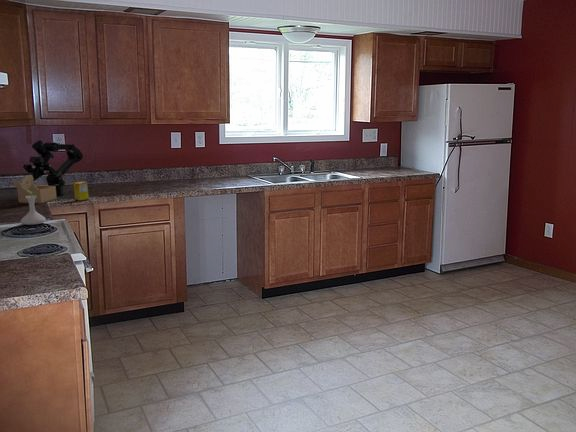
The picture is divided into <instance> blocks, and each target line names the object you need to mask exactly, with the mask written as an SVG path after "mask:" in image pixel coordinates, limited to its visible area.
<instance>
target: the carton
mask: <svg viewBox="0 0 576 432" xmlns="http://www.w3.org/2000/svg"><path fill="white" fill-rule="evenodd" d="M35 186H36V187H37V188H38V190H35V193H36V195H32V194H30V193H28V192H27V189H26V190H24V189H17V188H16V190H17V199H18V203H22V204H23V203H24V204H29V202H28V200H27V198H26V196H31V195H32V196H36V198H35V202H34V204H39V205H41V204H45V203H49V202H52V201H55V200H57V199H58V198H57V197H58V196H57V197H56V186H48V185H40V184H35ZM29 191H31V192H32V191H34V190H29Z"/></svg>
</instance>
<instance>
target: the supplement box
mask: <svg viewBox="0 0 576 432" xmlns="http://www.w3.org/2000/svg"><path fill="white" fill-rule="evenodd" d="M88 186H89V185H88V182H87V181H75V182H73V192H74V201H76V202H85V201H89V200H90V199H89V187H88Z"/></svg>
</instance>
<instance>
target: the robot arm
mask: <svg viewBox="0 0 576 432" xmlns="http://www.w3.org/2000/svg"><path fill="white" fill-rule="evenodd" d="M31 147H32V149H33V150H34V152H36V154H37V155H38V156H29V159H28V160H29V161H28V162H29V163H31V164H28V163H24V164H23V167H22V168H23V169H24V170H25V171H26V172H27V173H28V174H32V176H33V178H34V179H33V182H34V181H36V180H38V179H39V178H42V177H43V176H45V175H46V173H47V172H48V173H47V175H46V177H45V180H46V184H47V186H56V197H61V196H66V194H65V193H64V188H63V187H64V186H66V185H65V184H66V182H65V181H64V179H63V177H64V175H65V174H66V173H67V172H68V171H70V169H71V168H72V166H73V165H75V164H77V163H80V162H81V161H82V160H83V158H84V155H83V153H82V151H81V150H80V149H79V148H78V147H77V146H76V145H75V144H74V143H58V142H55V141H54V142H51V141H49V142H48V141H46V142H44V143H43V141H42V140H39V139H38V140H37V141H36V142H34V143H33V144H32V146H31ZM58 151H66V156H67V159H66V160H65V161H64V162H63V163H62V164H61V165H60V166H59V167H58V168H57V169H55V168H54V167H53V166H52V165H50V162H49V161H50V160H51V159H54V158H55V156H54V153H56V152H58ZM51 152H52V153H51ZM53 152H54V153H53Z"/></svg>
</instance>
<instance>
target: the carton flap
mask: <svg viewBox="0 0 576 432" xmlns="http://www.w3.org/2000/svg"><path fill="white" fill-rule="evenodd" d="M22 181H23V180H13V179H12V180H11V183H12V184H13V185H14V186H15V187H16V190H17V189H22V186H23V185H21V184H22ZM35 185H36V184H35V183H34V182H33V183H32V185H31V186H32V187H30V188H29V189H28V190H32V188H33V190H38V188H37V187H36V186H35Z"/></svg>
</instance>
